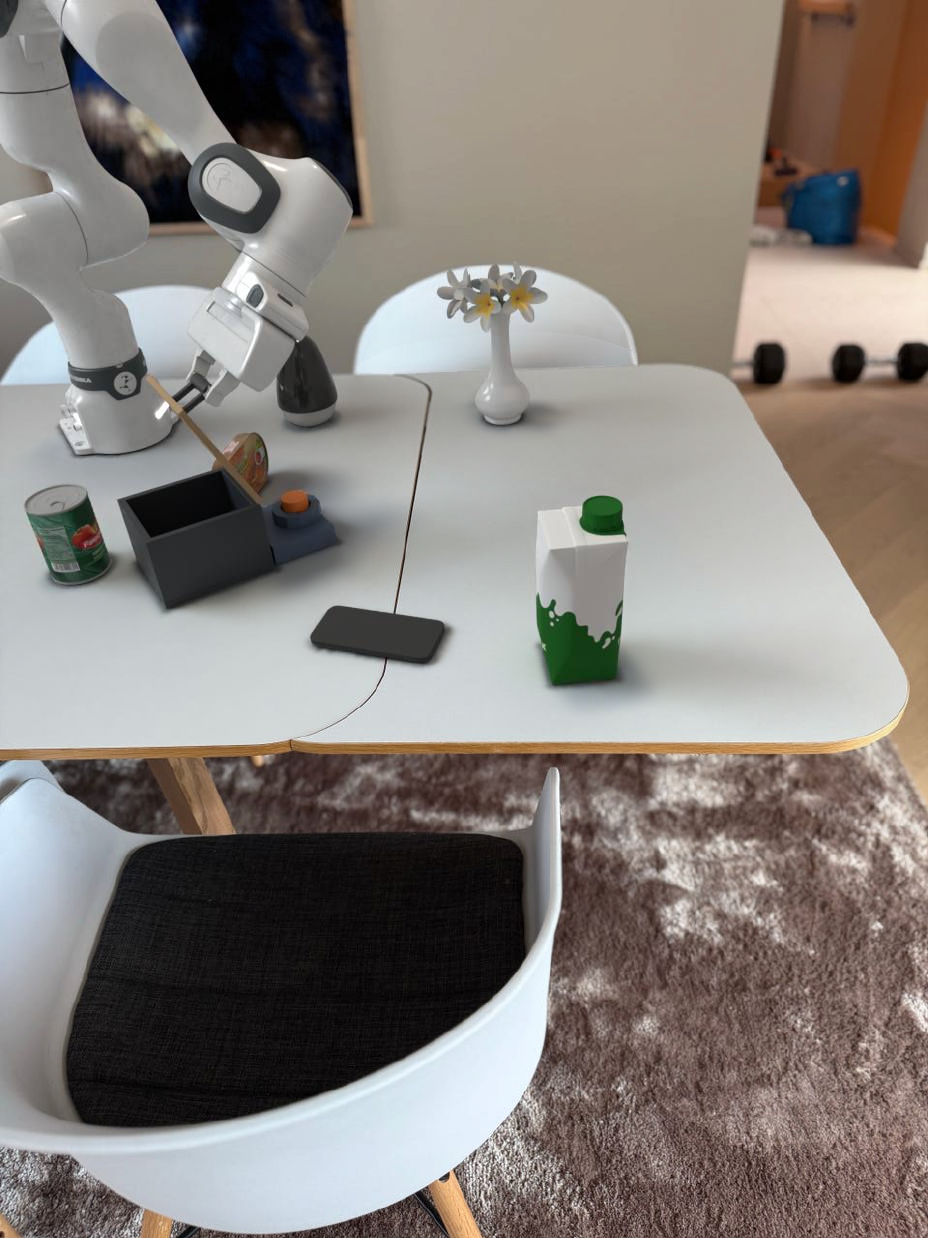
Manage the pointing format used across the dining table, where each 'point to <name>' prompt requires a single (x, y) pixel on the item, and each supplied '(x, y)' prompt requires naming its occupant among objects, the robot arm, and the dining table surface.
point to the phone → (378, 633)
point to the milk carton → (581, 589)
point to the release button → (294, 501)
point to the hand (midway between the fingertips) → (200, 394)
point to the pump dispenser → (306, 385)
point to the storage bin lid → (201, 386)
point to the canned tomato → (68, 533)
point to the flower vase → (496, 333)
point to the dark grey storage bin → (197, 536)
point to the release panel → (297, 530)
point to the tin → (247, 458)
